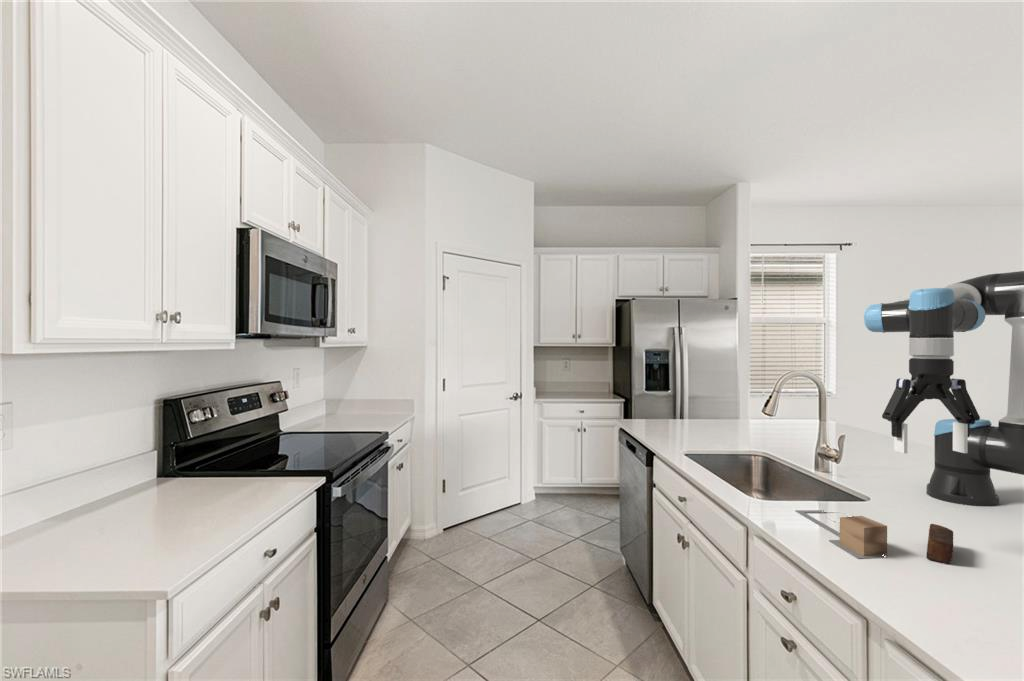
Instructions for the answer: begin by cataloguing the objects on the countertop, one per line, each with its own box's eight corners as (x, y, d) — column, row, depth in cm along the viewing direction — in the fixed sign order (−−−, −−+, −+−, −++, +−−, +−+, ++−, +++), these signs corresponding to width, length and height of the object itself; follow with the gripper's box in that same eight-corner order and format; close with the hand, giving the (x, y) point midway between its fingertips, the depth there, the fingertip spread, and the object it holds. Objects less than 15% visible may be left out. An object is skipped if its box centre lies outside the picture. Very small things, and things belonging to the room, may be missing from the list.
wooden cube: (861, 541, 108) (861, 515, 108) (887, 553, 103) (887, 525, 103) (839, 543, 107) (839, 517, 107) (863, 555, 101) (864, 527, 101)
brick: (951, 567, 96) (954, 545, 96) (925, 559, 99) (928, 538, 98) (951, 547, 104) (954, 526, 103) (927, 540, 107) (930, 520, 106)
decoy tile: (867, 540, 109) (867, 539, 109) (899, 558, 100) (899, 557, 100) (828, 540, 109) (828, 540, 109) (857, 558, 100) (857, 557, 100)
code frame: (842, 511, 129) (842, 510, 129) (893, 537, 112) (893, 536, 112) (795, 511, 128) (795, 510, 128) (839, 537, 111) (839, 536, 111)
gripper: (968, 357, 110) (968, 447, 110) (863, 356, 110) (862, 448, 110) (1002, 358, 103) (1002, 455, 103) (889, 358, 102) (889, 456, 102)
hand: (930, 452), depth 106 cm, fingers open, 13 cm apart
